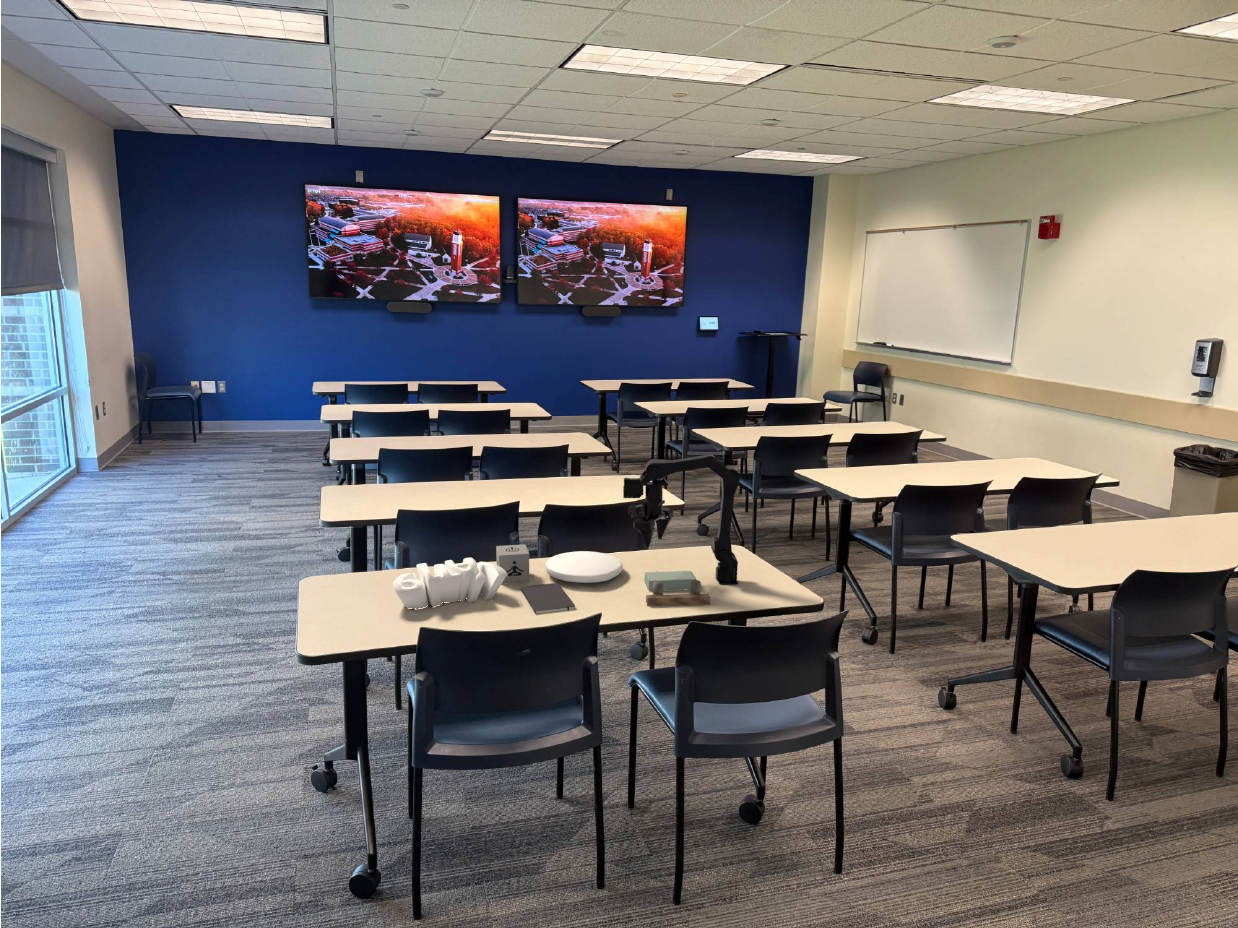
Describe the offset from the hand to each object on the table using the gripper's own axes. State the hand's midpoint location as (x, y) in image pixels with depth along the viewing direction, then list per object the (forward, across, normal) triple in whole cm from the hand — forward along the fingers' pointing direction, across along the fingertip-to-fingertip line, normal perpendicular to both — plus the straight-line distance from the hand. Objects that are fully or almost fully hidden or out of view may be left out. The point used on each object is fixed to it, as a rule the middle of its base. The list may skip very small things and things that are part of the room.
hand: (653, 542), depth 272 cm
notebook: (+13, +32, -22) cm, 41 cm away
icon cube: (+13, +22, -42) cm, 50 cm away
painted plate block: (+14, +2, +7) cm, 16 cm away
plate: (+13, +7, -24) cm, 28 cm away
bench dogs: (+14, +13, +15) cm, 24 cm away
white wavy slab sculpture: (+12, +48, -48) cm, 69 cm away
